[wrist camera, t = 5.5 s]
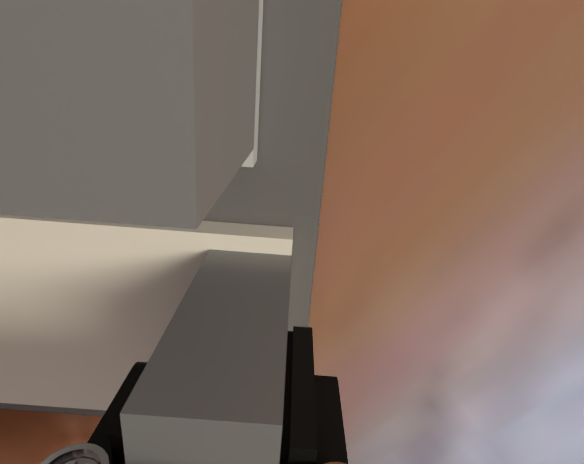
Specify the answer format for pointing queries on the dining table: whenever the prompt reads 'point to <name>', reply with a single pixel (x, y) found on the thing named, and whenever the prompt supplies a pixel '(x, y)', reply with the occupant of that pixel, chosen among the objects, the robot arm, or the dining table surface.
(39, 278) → the block strip
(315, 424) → the robot arm
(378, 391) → the dining table surface
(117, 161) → the empty strip
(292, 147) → the mat
